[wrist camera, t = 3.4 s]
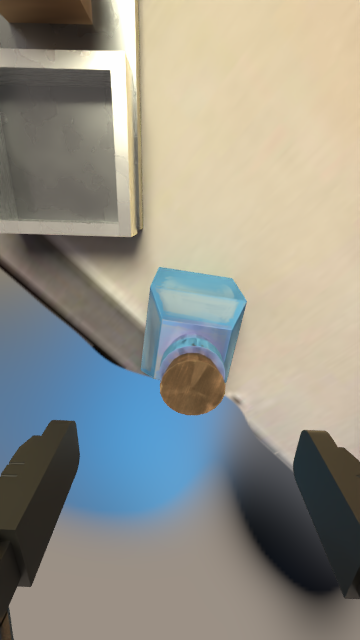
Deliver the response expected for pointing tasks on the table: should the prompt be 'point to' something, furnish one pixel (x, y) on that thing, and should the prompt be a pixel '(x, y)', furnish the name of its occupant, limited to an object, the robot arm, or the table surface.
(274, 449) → the table surface
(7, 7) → the walnut finger
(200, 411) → the perfume bottle
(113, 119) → the grey rectangular tray
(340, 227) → the table surface
